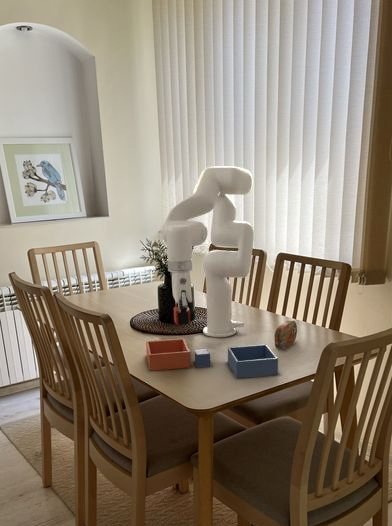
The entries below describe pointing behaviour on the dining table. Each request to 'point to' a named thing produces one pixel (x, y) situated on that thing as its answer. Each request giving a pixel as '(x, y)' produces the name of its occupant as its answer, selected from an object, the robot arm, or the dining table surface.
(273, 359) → the blue bin
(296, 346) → the dining table surface
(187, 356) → the terracotta bin
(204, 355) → the blue block
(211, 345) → the dining table surface
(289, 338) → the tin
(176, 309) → the red block
